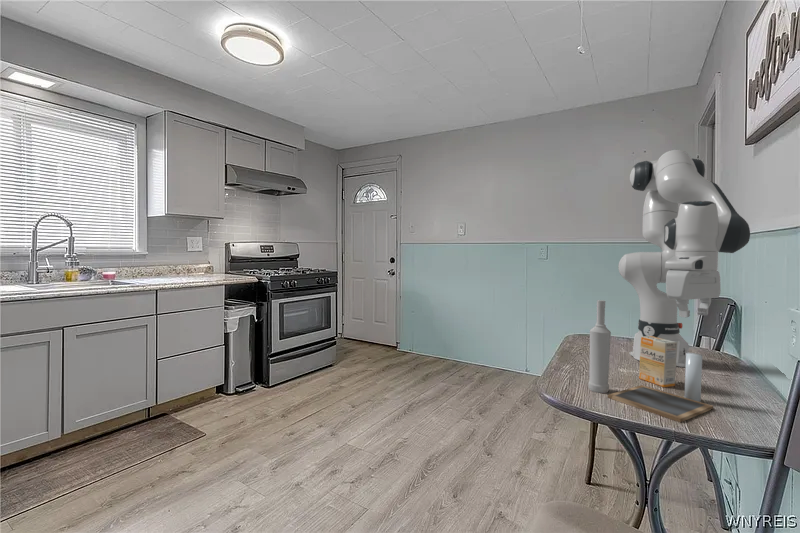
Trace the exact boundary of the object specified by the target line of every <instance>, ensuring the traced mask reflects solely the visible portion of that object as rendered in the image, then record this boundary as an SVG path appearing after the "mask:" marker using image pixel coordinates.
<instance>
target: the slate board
mask: <svg viewBox="0 0 800 533" xmlns="http://www.w3.org/2000/svg"><path fill="white" fill-rule="evenodd" d="M607 399H611V400H613V401H617V402H619V403H622V404H626V405H628V406H631V407H634V408H637V409H639V410H643V411H646V412H648V413H651V414H655V415H658V416H660V417H664V418H666V419H669V420H672V421H675V422H677V423H682V422H685V421H687V420H690V419H691V418H695V417H697V416H700V415H702V414H705V413H706V412H710V411H712V410H713V409H714V405H711V404H708V403H705V402H698V401H695V400H691V399H688V398H684V396H681V395H678V394H677V395H676V394H674V393H670V392H667V391H664V390H660V389H656V388H653V387H649V386H647V385H646V386H645V385H642V384H640V385H638V386H633V387H631V388H627V389H623V390H619V391H616V392H613V393H609V394H607ZM711 409H712V410H711Z"/></svg>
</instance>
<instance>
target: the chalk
mask: <svg viewBox="0 0 800 533" xmlns="http://www.w3.org/2000/svg"><path fill="white" fill-rule="evenodd" d="M684 369H685V375H684V396H683V397H684V398H688V399H691V400H695V401H698V402H701V400H702V398H701V397H702V378H703V377H702V376H703V375H702V374H703V372H702V370H703V355H702V354H700V353H695V352H689V353H686V367H684Z"/></svg>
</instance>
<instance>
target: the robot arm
mask: <svg viewBox="0 0 800 533" xmlns="http://www.w3.org/2000/svg"><path fill="white" fill-rule="evenodd" d="M705 177H706V166H705V164H704V161H702V159H698V158H692V157H691V156H690V154H689V153H688V152H686V151H684V150H682V149H672V150H668V151H665V152H664V153H663V154H661V156H659V158H658V159H656V160H650V161H648V160H643V161H640V162H637V163H635V165H634V166H633V167H632V169H631V171H630V174H629V182H630V184H631V187H632V189H633V190H635V191H640V192H645V191H647V193H646V194H645V198H644V203H643V208H642V230H641V231H642V232H641V234H642V237H643V238H644V240H645V241H647V242H648V243H650V244H653V245H656V246H657V247H658V248H659V249H660V250H661V251H636V252H629V253H624V255H622V257H621V258H620V260H619V262H618V266H617V268H618V272H619V274H620V275H621V277H622V278H623V280H625V281H626V282H628V283H629V284H630V285H631V286H632V287H633V288H634V290H635V292H636V294H637V296H638V300H639V319H638V322H637V326H638V327H637V328H638V332H636V333H634V339H633V347H632V351H629V355H630V356H632V357H633V358H634V359H635V360H637V361H639V362H640V345H641V337H643V336H654V337H657V338H661V339H665V340H669V341H673V342H677V356H676V367H681V368H686V353H690V348H689V347H690V345H689V342H687V341H686V339H685V338H684V337H683V336H682V335H681V334H680V333H681V332H680V329H681V330H682V329H683V323H682V322H678V315H679V317H681V318H690V316H691V310H689V306H688V304H689V305H690V302H689V301H690V300H699V303H700V304H699V307H698V308H697V315H699V316H708V315H709V309H710V306H711V303H712V299H717V298H719V297H720V295H721V292H722V291H721V276H720V272H719V270H718V264H719V263H718V260H719V253H725V254H726V253H727V254H735V253H736V252H738V251H740V250H741V249H742V248H744V247H745V246H747V245H748V243H749V241H750V238H751V228H750V225H749V223H748V222H747V221H746V220H745V218H743V217H742V216H741V215H740V214H739V213H738V211H736V209H735V208H734V206H733V205H732V204H731V202H730V200H729V199H728V197H727V196H726V195H725V193H724V192H723V190H722V189H721V187H720V186H719V185H718V184H717V183H715V182H714V181H711V180H708V179H707V178H705ZM660 283H661V284H662V283H663V284H665V288H666V289H665V291H666V292H664V291H662V290H660V289H659V288H658V284H660ZM678 312H679V313H678Z"/></svg>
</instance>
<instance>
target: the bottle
mask: <svg viewBox="0 0 800 533" xmlns="http://www.w3.org/2000/svg"><path fill="white" fill-rule="evenodd" d="M605 311H606V300H605V299H602V300H601V299H597V300H596V322H595V324H594V327H592V328H590V330H589V377H588V378H589V381H588V382H587V383H588V384H587V386H588V389H589V390H590V391H591V392H593V393H598V394H601V393H602V394H605V393H608V392H609V390H610V384H609V373H610V372H609V371H610V354H611V353H610V352H611V351H610V350H611V338H612V337H611V335H612V332H611V330H609V329H608V328H607V327H606V326H607V325H606V324H605V321H606V320H605V318H606V316H605V315H606V312H605Z"/></svg>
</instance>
